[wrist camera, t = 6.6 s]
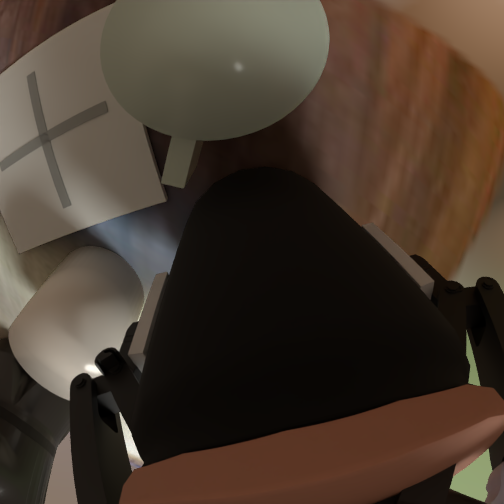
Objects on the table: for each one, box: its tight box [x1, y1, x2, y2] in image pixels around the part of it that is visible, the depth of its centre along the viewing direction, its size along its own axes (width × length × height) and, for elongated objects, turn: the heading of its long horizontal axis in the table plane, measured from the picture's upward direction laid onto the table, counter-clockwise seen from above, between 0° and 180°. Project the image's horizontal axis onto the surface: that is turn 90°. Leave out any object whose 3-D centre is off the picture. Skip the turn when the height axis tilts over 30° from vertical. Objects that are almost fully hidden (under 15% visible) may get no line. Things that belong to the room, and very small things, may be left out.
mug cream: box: [8, 246, 144, 401], centre depth 18 cm, size 10×8×9 cm
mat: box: [0, 3, 168, 254], centre depth 15 cm, size 15×15×1 cm
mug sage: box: [100, 0, 329, 189], centre depth 12 cm, size 10×8×9 cm
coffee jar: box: [119, 167, 504, 504], centre depth 13 cm, size 11×11×18 cm
